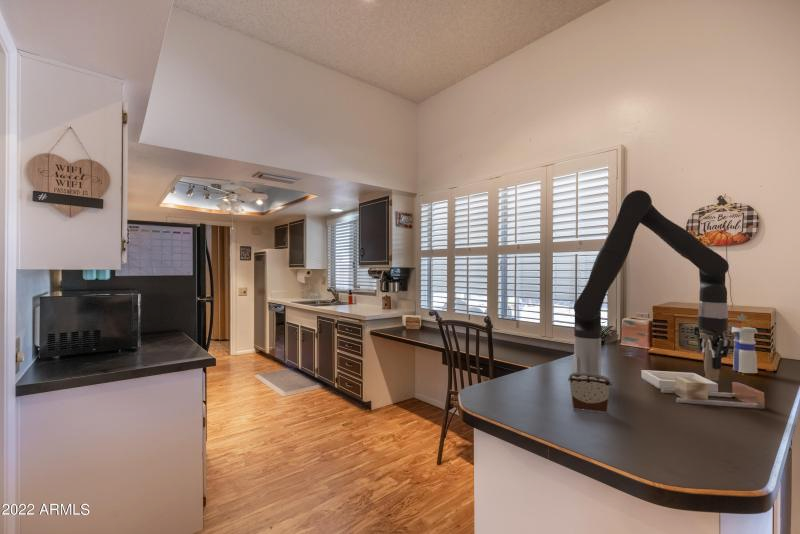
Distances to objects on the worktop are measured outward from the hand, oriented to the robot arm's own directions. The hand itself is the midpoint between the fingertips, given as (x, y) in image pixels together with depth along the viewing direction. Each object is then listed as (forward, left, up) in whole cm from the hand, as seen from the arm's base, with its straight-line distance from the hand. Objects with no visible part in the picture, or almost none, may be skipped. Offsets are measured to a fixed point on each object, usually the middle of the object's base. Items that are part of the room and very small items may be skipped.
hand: (712, 366), depth 120 cm
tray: (-3, +16, -11) cm, 20 cm away
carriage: (-6, 0, -11) cm, 13 cm away
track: (-1, 0, -11) cm, 11 cm away
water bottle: (+35, +43, -11) cm, 57 cm away
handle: (0, 0, -5) cm, 5 cm away
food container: (-43, -17, -11) cm, 47 cm away
